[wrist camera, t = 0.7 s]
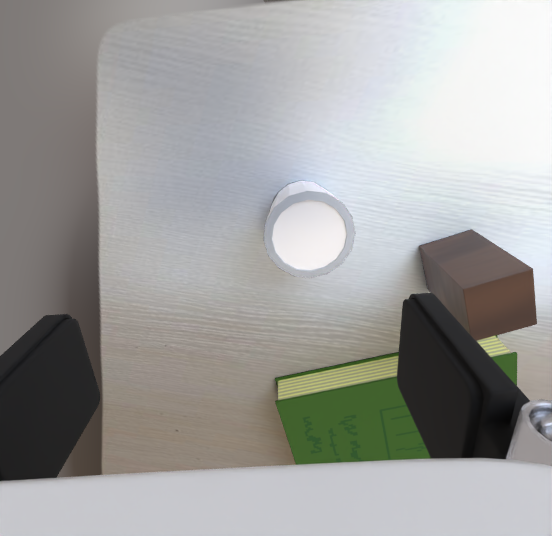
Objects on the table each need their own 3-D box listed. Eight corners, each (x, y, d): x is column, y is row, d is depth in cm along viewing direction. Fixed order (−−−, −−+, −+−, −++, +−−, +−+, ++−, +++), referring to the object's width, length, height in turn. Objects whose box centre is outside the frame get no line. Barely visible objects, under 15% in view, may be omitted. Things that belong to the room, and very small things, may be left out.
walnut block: (418, 245, 36) (463, 289, 27) (471, 229, 35) (533, 268, 27) (427, 289, 38) (471, 342, 29) (478, 274, 37) (537, 324, 29)
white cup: (351, 227, 35) (369, 255, 28) (285, 258, 36) (288, 292, 30) (321, 159, 32) (334, 174, 26) (251, 195, 33) (246, 217, 27)
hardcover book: (310, 486, 49) (313, 515, 46) (275, 378, 42) (275, 402, 38) (503, 451, 47) (522, 478, 44) (503, 330, 40) (525, 351, 36)
